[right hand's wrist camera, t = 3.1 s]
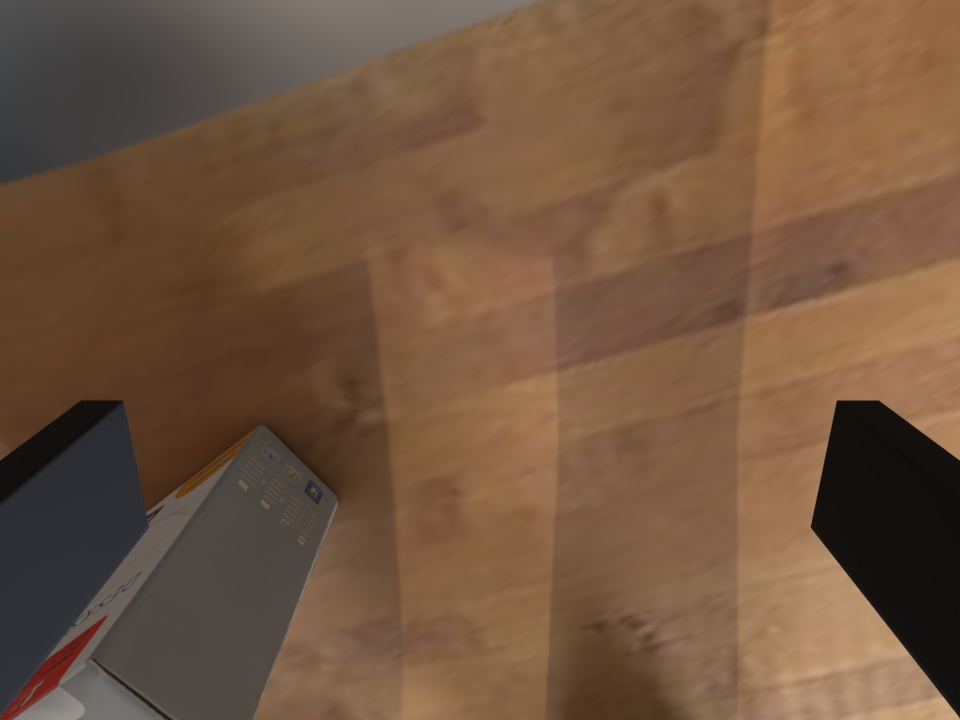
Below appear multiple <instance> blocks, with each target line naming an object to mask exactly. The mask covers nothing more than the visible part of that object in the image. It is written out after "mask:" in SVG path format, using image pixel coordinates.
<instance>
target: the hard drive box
mask: <svg viewBox="0 0 960 720" xmlns="http://www.w3.org/2000/svg"><path fill="white" fill-rule="evenodd" d="M337 505H338V501H337V496H336V495H335V494H334V493H333V492H332V491H331V490H330V489H329V488H328V487H327V486H326V485H325V484H324V483H323V482H322V481H321V480H320V479H319V478H318V477H317V476H316V475H315V474H314V473H313V472H312V471H311V470H310V469H309V468H308V467H307V466H306V465H305V464H304V463H303V462H302V461H301V460H300V459H299V458H298V457H297V456H296V455H294V454H293V453H292V452H291V451H290V450H289V449H288V448H287V447H286V446H285V445H284V444H283V443H282V442H281V440H280V439H278V438H277V437H276V436H275V435H274V434H273V433H272V432H271V431H270V430H269V429H268V428H267V427H266V426H265V425H262V424H261V425H259V426H258V427H256V428H255V429H254V430H252V431H251V432H250V433H248V434H247V435H246V436H244V437H243V438H242V439H240V440H239V441H238V442H237V443H235V444H234V445H233V446H231V447H230V448H229V449H227V450H226V451H225V452H224V453H222V454H221V455H220V456H218V457H217V458H216V459H215V460H213V461H212V462H211V463H209V464H208V465H207V466H206V467H204V468H203V469H202V470H201V471H199V472H198V473H197V474H195V475H194V476H193V477H191V478H190V479H189V480H188V481H186V482H185V483H184V484H183V485H181V486H180V487H179V488H177V489H176V490H175V491H173V492H172V493H171V494H170V495H168V496H167V497H166V498H164V499H163V500H162V501H160V502H159V503H158V504H157V505H155V506H154V507H153V508H151V509H150V510H148V511H147V512H146V514H147V519H148V524H149V528H148V530H147V531H146V532H145V534H144V535H143V536H142V537H141V539H140V540H139V541H138V542H137V544H136V545H135V546H134V548H133V549H132V550H131V551H130V553H129V554H128V555H127V557H126V558H125V559H124V560H123V562H122V563H121V564H120V565H119V567H118V568H117V569H116V571H115V572H114V573H113V574H112V576H111V577H110V578H109V579H108V581H107V582H106V583H105V585H104V586H103V587H102V588H101V590H100V591H99V592H98V594H97V595H96V596H95V597H94V599H93V600H92V601H91V602H90V604H89V605H88V606H87V608H86V609H85V610H84V611H83V613H82V614H81V615H80V617H79V618H78V619H77V620H76V622H75V623H74V624H73V625H72V627H71V628H70V629H69V631H68V632H67V633H66V634H65V636H64V637H63V638H62V639H61V641H60V642H59V643H58V645H57V646H56V647H55V648H54V650H53V651H52V652H51V654H50V655H49V656H48V657H47V659H46V660H45V661H44V662H43V664H42V665H41V666H40V668H39V669H38V670H37V671H36V673H35V674H34V675H33V677H32V678H31V679H30V680H29V682H28V683H27V684H26V685H25V687H24V688H23V689H22V691H21V692H20V693H19V694H18V696H17V697H16V698H15V700H14V701H13V702H12V703H11V705H10V706H9V707H8V708H7V710H6V711H5V712H4V714H3V715H2V716H1V717H0V720H253V719H254V716H255V714H256V711H257V709H258V706H259V703H260V701H261V698H262V696H263V693H264V690H265V688H266V685H267V683H268V680H269V678H270V675H271V673H272V670H273V667H274V665H275V662H276V660H277V657H278V655H279V652H280V650H281V647H282V644H283V642H284V639H285V637H286V634H287V632H288V629H289V627H290V624H291V622H292V619H293V617H294V615H295V612H296V609H297V607H298V604H299V602H300V599H301V597H302V594H303V592H304V589H305V587H306V584H307V581H308V579H309V576H310V574H311V571H312V569H313V566H314V564H315V561H316V559H317V556H318V554H319V551H320V549H321V546H322V544H323V541H324V539H325V536H326V534H327V531H328V529H329V526H330V523H331V521H332V518H333V516H334V513H335V511H336V508H337Z"/></svg>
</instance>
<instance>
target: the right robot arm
mask: <svg viewBox="0 0 960 720" xmlns="http://www.w3.org/2000/svg"><path fill="white" fill-rule="evenodd" d="M148 528H149V524H148V519H147V514H146V509H145V504H144V500H143V495H142V490H141V485H140V480H139V476H138V471H137V466H136V461H135V456H134V451H133V447H132V442H131V437H130V432H129V427H128V422H127V418H126V413H125V408H124V403H123V401H80V402H79V403H77V404H76V405H75V406H73V407H72V408H71V409H69V410H68V411H67V412H65V413H64V414H62V415H61V416H60V417H58V418H57V419H56V420H54V421H53V422H52V423H50V424H49V425H48V426H46V427H45V428H44V429H42V430H41V431H40V432H38V433H37V434H35V435H34V436H33V437H31V438H30V439H29V440H27V441H26V442H25V443H23V444H22V445H21V446H19V447H18V448H17V449H15V450H14V451H13V452H11V453H10V454H8V455H7V456H6V457H4V458H3V459H2V460H0V717H1V716H2V715H3V714H4V712H5V711H6V710H7V708H8V707H9V706H10V705H11V703H12V702H13V701H14V700H15V698H16V697H17V696H18V694H19V693H20V692H21V691H22V689H23V688H24V687H25V685H26V684H27V683H28V682H29V680H30V679H31V678H32V677H33V675H34V674H35V673H36V671H37V670H38V669H39V668H40V666H41V665H42V664H43V662H44V661H45V660H46V659H47V657H48V656H49V655H50V654H51V652H52V651H53V650H54V648H55V647H56V646H57V645H58V643H59V642H60V641H61V639H62V638H63V637H64V636H65V634H66V633H67V632H68V631H69V629H70V628H71V627H72V625H73V624H74V623H75V622H76V620H77V619H78V618H79V617H80V615H81V614H82V613H83V611H84V610H85V609H86V608H87V606H88V605H89V604H90V602H91V601H92V600H93V599H94V597H95V596H96V595H97V594H98V592H99V591H100V590H101V588H102V587H103V586H104V585H105V583H106V582H107V581H108V579H109V578H110V577H111V576H112V574H113V573H114V572H115V571H116V569H117V568H118V567H119V565H120V564H121V563H122V562H123V560H124V559H125V558H126V557H127V555H128V554H129V553H130V551H131V550H132V549H133V548H134V546H135V545H136V544H137V542H138V541H139V540H140V539H141V537H142V536H143V535H144V534H145V532H146V531H147V530H148ZM811 528H812V530H813V531H814V532H815V534H816V535H817V536H818V537H819V539H820V540H821V541H822V542H823V544H824V545H825V546H826V548H827V549H828V550H829V551H830V553H831V554H832V555H833V557H834V558H835V559H836V560H837V562H838V563H839V564H840V565H841V567H842V568H843V569H844V571H845V572H846V573H847V574H848V576H849V577H850V578H851V579H852V581H853V582H854V583H855V585H856V586H857V587H858V588H859V590H860V591H861V592H862V594H863V595H864V596H865V597H866V599H867V600H868V601H869V602H870V604H871V605H872V606H873V608H874V609H875V610H876V611H877V613H878V614H879V615H880V617H881V618H882V619H883V620H884V622H885V623H886V624H887V625H888V627H889V628H890V629H891V631H892V632H893V633H894V634H895V636H896V637H897V638H898V639H899V641H900V642H901V643H902V645H903V646H904V647H905V648H906V650H907V651H908V652H909V654H910V655H911V656H912V657H913V659H914V660H915V661H916V662H917V664H918V665H919V666H920V668H921V669H922V670H923V671H924V673H925V674H926V675H927V677H928V678H929V679H930V680H931V682H932V683H933V684H934V685H935V687H936V688H937V689H938V691H939V692H940V693H941V694H942V696H943V697H944V698H945V700H946V701H947V702H948V703H949V705H950V706H951V707H952V708H953V710H954V711H955V712H956V714H957V715H958V716H959V717H960V460H958V459H957V458H956V457H954V456H953V455H952V454H950V453H949V452H947V451H946V450H945V449H943V448H942V447H941V446H939V445H938V444H937V443H935V442H934V441H933V440H931V439H930V438H929V437H927V436H926V435H925V434H923V433H922V432H920V431H919V430H918V429H916V428H915V427H914V426H912V425H911V424H910V423H908V422H907V421H906V420H904V419H903V418H902V417H900V416H899V415H898V414H896V413H895V412H893V411H892V410H891V409H889V408H888V407H887V406H885V405H884V404H883V403H881V402H880V401H837V403H836V408H835V413H834V418H833V422H832V427H831V432H830V437H829V442H828V447H827V451H826V456H825V461H824V466H823V471H822V476H821V480H820V485H819V490H818V495H817V500H816V504H815V509H814V514H813V519H812V524H811Z"/></svg>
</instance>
